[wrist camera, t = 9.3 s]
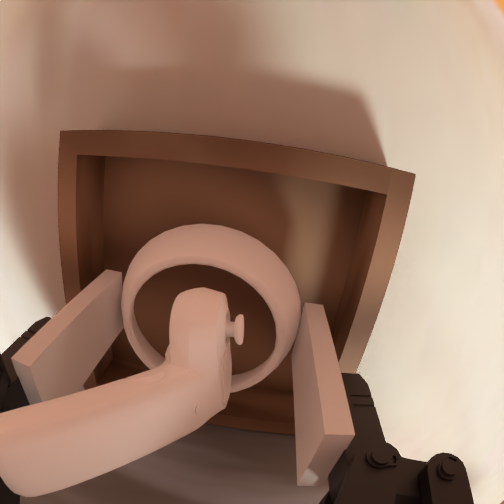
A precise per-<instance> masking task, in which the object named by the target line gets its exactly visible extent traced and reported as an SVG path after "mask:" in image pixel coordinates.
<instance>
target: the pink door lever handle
mask: <svg viewBox="0 0 504 504" xmlns="http://www.w3.org/2000/svg"><path fill="white" fill-rule="evenodd" d="M185 264H200V265H209V266H213V267H216V268H220V269H223V270H226V271H228V272H230V273H232V274H234V275H236V276H238V277H240V278H242V279H243V280H244V281H246V282H247V283H248V284H250V285H251V286H252V287H253V288H254V289H255V290H256V291H257V292H258V293H259V294H260V295H261V296H262V297H263V299H264V300H265V302H266V303H267V305H268V307H269V309H270V310H271V312H272V316H273V319H274V322H275V327H276V342H275V348H274V351H273V352H272V354H271V355H270V357H269V358H268V359H267V360H266V361H265V362H264V363H263V364H261V365H260V366H258V367H256V368H254V369H253V370H250V371H247V372H244V373H242V374H236V375H232V359H231V350H230V337H234V338H235V342H236V343H237V344H238V345H241V344H242V343H243V338H244V316H243V315H242V314H239V315H238V316H237V317H236V319H235V322H230V312H229V309H228V302H227V297H226V295H225V294H224V293H222V292H219V291H215V290H212V289H208V288H205V287H201V288H194V289H190V290H186V291H184V292H181V293H180V294H178V296H177V297H176V299H175V301H174V303H173V306H172V310H171V316H170V325H169V342H170V344H169V345H168V348H167V350H166V353H165V358H164V357H163V356H161V355H160V354H159V353H158V352H157V351H156V350H155V349H154V348H153V347H152V346H151V345H150V344H149V342H148V341H147V340H146V338H145V337H144V336H143V334H142V333H141V331H140V329H139V327H138V325H137V321H136V318H135V315H134V301H135V297H136V294H137V293H138V291H139V290H140V288H141V287H142V285H143V284H144V283H145V282H146V281H147V280H148V279H149V278H151V277H152V276H153V275H155V274H156V273H158V272H160V271H162V270H164V269H166V268H170V267H173V266H177V265H185ZM121 308H122V317H123V324H124V329H125V332H126V335H127V338H128V341H129V342H130V344H131V346H132V348H133V350H134V351H135V353H136V354H137V355H138V357H139V358H140V359H141V360H142V362H143V363H144V364H145V365H146V366H147V367H148V368H149V369H151V370H148V371H145V372H142V373H139V374H136V375H133V376H130V377H127V378H125V379H120V380H117V381H114V382H110V383H107V384H104V385H101V386H97V387H94V388H91V389H87V390H84V391H81V392H77V393H74V394H70V395H67V396H63V397H59V398H56V399H52V400H48V401H44V402H40V403H37V404H33V405H29V406H25V407H21V408H17V409H14V410H10V411H7V412H3V413H0V477H1V478H2V480H3V481H4V483H5V484H6V485H7V486H8V488H9V489H10V490H11V491H13V492H14V493H15V494H18V495H21V496H25V497H36V496H40V495H44V494H48V493H51V492H55V491H59V490H62V489H65V488H67V487H70V486H73V485H76V484H79V483H81V482H84V481H87V480H89V479H92V478H94V477H97V476H99V475H102V474H104V473H107V472H109V471H112V470H114V469H116V468H119V467H121V466H123V465H126V464H128V463H130V462H132V461H135V460H137V459H139V458H141V457H143V456H145V455H148V454H150V453H152V452H154V451H156V450H158V449H160V448H162V447H164V446H166V445H168V444H170V443H172V442H174V441H176V440H178V439H180V438H182V437H184V436H186V435H187V434H189V433H191V432H193V431H195V430H196V429H198V428H199V427H201V426H202V425H203V424H204V423H205V422H206V421H207V420H209V419H210V418H211V417H213V416H214V415H215V414H217V413H218V412H220V411H221V410H223V409H225V408H226V405H227V402H228V399H229V395H230V393H232V392H237V391H240V390H243V389H246V388H249V387H251V386H253V385H255V384H257V383H258V382H260V381H262V380H263V379H264V378H265V377H266V376H268V375H269V374H270V373H271V372H272V371H273V370H275V369H276V368H277V367H278V366H279V364H280V363H281V362H282V360H283V359H284V358H285V356H286V355H287V354H288V352H289V351H290V349H291V347H292V345H293V343H294V341H295V339H296V336H297V333H298V329H299V324H300V320H301V300H300V297H299V293H298V289H297V286H296V283H295V281H294V279H293V278H292V276H291V274H290V272H289V270H288V268H287V267H286V266H285V265H284V263H283V262H282V261H281V260H280V259H279V257H278V256H277V255H276V254H275V253H274V252H273V251H272V250H270V249H269V248H268V247H267V246H265V245H264V244H263V243H262V242H260V241H259V240H257V239H255V238H253V237H251V236H249V235H248V234H246V233H244V232H242V231H239V230H235V229H232V228H229V227H225V226H222V225H212V224H193V225H183V226H180V227H177V228H174V229H171V230H168V231H165V232H163V233H161V234H160V235H158V236H156V237H155V238H153V239H151V240H150V241H149V242H148V243H147V244H145V245H144V246H143V247H142V248H141V249H140V250H139V251H138V253H137V254H136V256H135V257H134V259H133V260H132V262H131V263H130V265H129V268H128V271H127V274H126V276H125V279H124V283H123V291H122V302H121Z"/></svg>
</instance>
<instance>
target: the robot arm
mask: <svg viewBox="0 0 504 504" xmlns="http://www.w3.org/2000/svg"><path fill="white" fill-rule="evenodd" d="M122 291H123V289H122V272H118V271H113V270H108V269H106V270H105V271H104V272H103V273H102V274H101V275H99V276H98V277H97V278H96V279H95V280H94V281H92V282H91V283H90V284H89V285H88V286H87V287H86V288H84V289H83V290H82V291H81V292H80V293H79V294H78V295H77V296H75V297H74V298H73V299H72V300H71V301H70V302H69V303H68V304H67V305H65V306H64V307H63V308H62V309H61V310H60V311H59V312H58V313H57V314H56V315H55V316H54V317H53V318H50V317H45V318H43V319H41V320H39V321H37V322H35V323H34V324H33V325H32V326H31V327H30V328H29V329H28V331H25V332H24V333H23V334H22V335H21V337H19V338H18V339H17V340H16V341H15V342H14V343H13V344H12V345H11V346H10V347H9V348H8V349H6V350H5V351H4V352H3V353H2V354H0V413H3V412H7V411H10V410H14V409H17V408H21V407H25V406H29V405H33V404H37V403H40V402H44V401H48V400H52V399H56V398H59V397H63V396H67V395H70V394H74V393H77V392H79V390H80V389H81V387H82V386H83V384H84V383H85V381H86V380H87V378H88V377H89V376H90V374H91V373H92V371H93V370H94V368H95V367H96V366H97V364H98V363H99V361H100V360H101V358H102V357H103V356H104V354H105V353H106V351H107V350H108V349H109V347H110V346H111V344H112V343H113V342H114V340H115V339H116V337H117V336H118V335H119V333H120V332H121V331H122V329H123V328H124V324H123V317H122V308H121V302H122ZM291 359H292V376H293V394H294V414H295V437H296V465H297V486H322V485H323V484H324V483H325V481H326V480H327V478H328V483H329V491H328V492H327V493H326V495H325V496H324V497H323V498H322V500H321V501H320V502H319V504H474V502H473V497H472V493H471V488H470V484H469V480H468V476H467V472H466V468H465V466H464V464H463V462H462V461H461V460H460V459H459V458H458V457H456V456H454V455H452V454H449V453H440V454H436V455H435V456H433V457H432V458H431V459H430V460H429V461H428V462H423V461H417V460H411V459H407V458H403V457H401V456H400V454H399V452H398V450H397V449H396V448H395V447H393V446H392V445H391V444H389V443H386V441H385V438H384V435H383V432H382V428H381V425H380V422H379V418H378V415H377V412H376V408H375V407H374V402H373V399H372V398H371V393H370V389H369V386H368V384H367V383H366V381H365V380H364V379H363V378H362V377H361V376H360V374H353V373H341V371H340V367H339V363H338V359H337V355H336V351H335V347H334V344H333V340H332V336H331V332H330V328H329V325H328V321H327V317H326V314H325V310H324V306H323V305H321V304H313V303H306V302H305V304H304V308H303V312H302V316H301V320H300V324H299V329H298V333H297V336H296V340H295V344H294V347H293V351H292V355H291ZM0 504H20V495H18V494H15V493H14V492H13V491H11V490H10V489H9V488H8V486H7V485H6V484H5V483H4V481H3V480H2V478H1V477H0Z"/></svg>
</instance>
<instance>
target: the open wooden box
mask: <svg viewBox="0 0 504 504" xmlns="http://www.w3.org/2000/svg"><path fill="white" fill-rule="evenodd" d="M415 175H416V174H413V173H409V172H406V171H402V170H398V169H394V168H390V167H386V166H382V165H378V164H374V163H370V162H365V161H361V160H357V159H352V158H347V157H343V156H338V155H333V154H328V153H323V152H317V151H312V150H306V149H301V148H295V147H289V146H283V145H276V144H270V143H263V142H256V141H248V140H240V139H232V138H223V137H214V136H203V135H192V134H180V133H165V132H147V131H117V130H72V131H60V144H59V163H58V222H59V241H60V255H61V266H62V275H63V284H64V292H65V299H66V305H67V304H68V303H69V302H70V301H71V300H72V299H73V298H74V297H75V296H77V295H78V294H79V293H80V292H81V291H82V290H83V289H84V288H86V287H87V286H88V285H89V284H90V283H91V282H92V281H94V280H95V279H96V278H97V277H98V276H99V275H101V274H102V273H103V272H104V271H105V270H106V269H108V270H113V271H118V272H122V289H123V283H124V279H125V276H126V274H127V271H128V268H129V265H130V263H131V262H132V260H133V259H134V257H135V256H136V254H137V253H138V251H139V250H140V249H141V248H142V247H143V246H144V245H145V244H147V243H148V242H149V241H150V240H151V239H153V238H155V237H156V236H158V235H160V234H161V233H163V232H165V231H168V230H171V229H174V228H177V227H180V226H183V225H193V224H212V225H222V226H225V227H229V228H232V229H235V230H239V231H242V232H244V233H246V234H248V235H249V236H251V237H253V238H255V239H257V240H259V241H260V242H262V243H263V244H264V245H265V246H267V247H268V248H269V249H270V250H272V251H273V252H274V253H275V254H276V255H277V256H278V257H279V259H280V260H281V261H282V262H283V263H284V265H285V266H286V267H287V268H288V270H289V272H290V274H291V276H292V278H293V279H294V281H295V283H296V286H297V289H298V293H299V297H300V300H301V316H302V312H303V308H304V304H305V302H306V303H313V304H321V305H323V306H324V310H325V314H326V317H327V321H328V325H329V328H330V332H331V336H332V340H333V344H334V347H335V351H336V355H337V359H338V363H339V367H340V371H341V373H353V374H355V373H356V371H357V368H358V366H359V363H360V361H361V358H362V356H363V353H364V351H365V348H366V346H367V343H368V340H369V338H370V335H371V332H372V330H373V327H374V324H375V321H376V319H377V316H378V313H379V310H380V307H381V304H382V301H383V298H384V295H385V292H386V289H387V286H388V283H389V279H390V276H391V273H392V269H393V266H394V263H395V259H396V256H397V252H398V248H399V245H400V241H401V237H402V233H403V229H404V225H405V221H406V217H407V213H408V209H409V204H410V200H411V195H412V190H413V185H414V180H415ZM201 287H205V288H208V289H212V290H215V291H219V292H222V293H224V294H225V295H226V297H227V302H228V309H229V312H230V322H235V319H236V317H237V316H238V315H239V314H242V315H243V316H244V338H243V343H242V344H241V345H238V344H237V343H236V342H235V338H234V337H230V350H231V359H232V375H236V374H242V373H244V372H247V371H250V370H253V369H254V368H256V367H258V366H260V365H261V364H263V363H264V362H265V361H266V360H267V359H268V358H269V357H270V355H271V354H272V352H273V351H274V348H275V342H276V327H275V322H274V319H273V316H272V312H271V310H270V309H269V307H268V305H267V303H266V302H265V300H264V299H263V297H262V296H261V295H260V294H259V293H258V292H257V291H256V290H255V289H254V288H253V287H252V286H251V285H250V284H248V283H247V282H246V281H244V280H243V279H242V278H240V277H238V276H236V275H234V274H232V273H230V272H228V271H226V270H223V269H220V268H216V267H213V266H209V265H200V264H185V265H177V266H173V267H170V268H166V269H164V270H162V271H160V272H158V273H156V274H155V275H153V276H152V277H151V278H149V279H148V280H147V281H146V282H145V283H144V284H143V285H142V287H141V288H140V290H139V291H138V293H137V294H136V297H135V301H134V315H135V318H136V321H137V325H138V327H139V329H140V331H141V333H142V334H143V336H144V337H145V338H146V340H147V341H148V342H149V344H150V345H151V346H152V347H153V348H154V349H155V350H156V351H157V352H158V353H159V354H160V355H161V356H163V357H164V358H165V353H166V350H167V348H168V345H169V344H170V342H169V325H170V316H171V310H172V306H173V303H174V301H175V299H176V297H177V296H178V294H180V293H181V292H184V291H186V290H190V289H194V288H201ZM295 340H296V339H295ZM294 344H295V341H294V343H293V345H292V347H291V349H290V351H289V352H288V354H287V355H286V356H285V358H284V359H283V360H282V362H281V363H280V364H279V366H278V367H277V368H276V369H275V370H273V371H272V372H271V373H270V374H269V375H268V376H266V377H265V378H264V379H263V380H262V381H260V382H258V383H257V384H255V385H253V386H251V387H249V388H246V389H243V390H240V391H237V392H232V393H230V395H229V399H228V402H227V405H226V408H225V409H223V410H221V411H220V412H218V413H217V414H215V415H214V416H213V417H211V418H210V419H209V420H207V421H206V422H205V423H204V424H203V425H202V426H201V427H199V428H198V429H196V430H195V431H193V432H191V433H189V434H187V435H186V436H184V437H182V438H180V439H178V440H176V441H174V442H172V443H170V444H168V445H166V446H164V447H162V448H160V449H158V450H156V451H154V452H152V453H150V454H148V455H145V456H143V457H141V458H139V459H137V460H135V461H132V462H130V463H128V464H126V465H123V466H121V467H119V468H116V469H114V470H112V471H109V472H107V473H104V474H102V475H99V476H97V477H94V478H92V479H89V480H87V481H84V482H81V483H79V484H76V485H73V486H70V487H67V488H65V489H62V490H59V491H55V492H51V493H48V494H44V495H40V496H36V497H25V496H21V495H20V504H319V502H320V501H321V500H322V498H323V497H324V496H325V495H326V493H327V492H328V491H329V483H328V478H327V480H326V481H325V483H324V484H323V485H322V486H297V465H296V437H295V414H294V394H293V376H292V359H291V355H292V351H293V347H294ZM148 370H151V369H149V368H148V367H147V366H146V365H145V364H144V363H143V362H142V360H141V359H140V358H139V357H138V355H137V354H136V353H135V351H134V350H133V348H132V346H131V344H130V342H129V341H128V338H127V335H126V332H125V329H124V328H123V329H122V331H121V332H120V333H119V335H118V336H117V337H116V339H115V340H114V342H113V343H112V344H111V346H110V347H109V349H108V350H107V351H106V353H105V354H104V356H103V357H102V358H101V360H100V361H99V363H98V364H97V366H96V367H95V368H94V370H93V371H92V373H91V374H90V376H89V377H88V378H87V380H86V381H85V383H84V384H83V386H82V387H81V389H80V390H79V392H81V391H84V390H87V389H91V388H94V387H97V386H101V385H104V384H107V383H110V382H114V381H117V380H120V379H125V378H127V377H130V376H133V375H136V374H139V373H142V372H145V371H148Z"/></svg>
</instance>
